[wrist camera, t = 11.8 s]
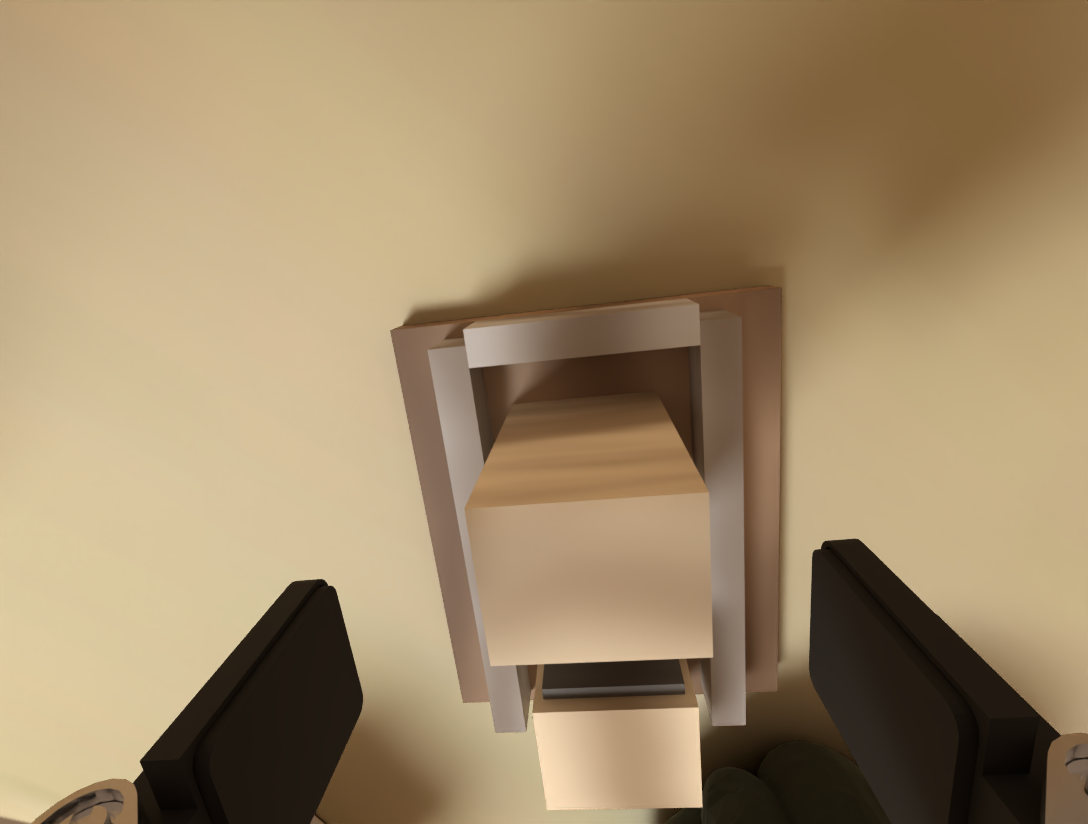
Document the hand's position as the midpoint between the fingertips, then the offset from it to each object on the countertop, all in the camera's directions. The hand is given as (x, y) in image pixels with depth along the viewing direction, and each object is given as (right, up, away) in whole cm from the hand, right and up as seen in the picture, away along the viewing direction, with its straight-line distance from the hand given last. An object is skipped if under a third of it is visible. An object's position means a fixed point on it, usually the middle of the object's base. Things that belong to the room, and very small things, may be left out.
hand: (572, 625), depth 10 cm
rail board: (+2, 0, +11) cm, 11 cm away
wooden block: (+1, +3, +9) cm, 9 cm away
